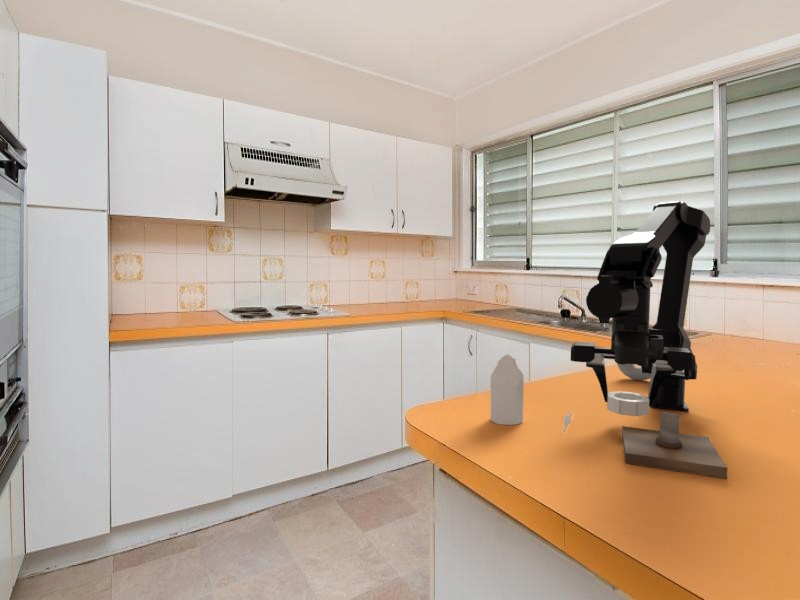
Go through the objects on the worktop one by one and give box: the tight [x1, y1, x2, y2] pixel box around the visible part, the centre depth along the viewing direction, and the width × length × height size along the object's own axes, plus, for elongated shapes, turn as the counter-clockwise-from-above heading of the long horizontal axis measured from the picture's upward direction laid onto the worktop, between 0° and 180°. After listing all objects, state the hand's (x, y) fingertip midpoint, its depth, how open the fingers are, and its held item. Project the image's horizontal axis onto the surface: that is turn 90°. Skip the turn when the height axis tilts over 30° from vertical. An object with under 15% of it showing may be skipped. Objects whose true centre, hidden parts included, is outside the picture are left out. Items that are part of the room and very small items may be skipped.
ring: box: [606, 390, 650, 417], centre depth 80 cm, size 6×6×2 cm
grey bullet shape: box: [489, 354, 525, 426], centre depth 83 cm, size 6×12×6 cm
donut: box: [616, 363, 651, 381], centre depth 113 cm, size 10×4×10 cm, turn 57°
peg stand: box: [621, 411, 728, 480], centre depth 68 cm, size 12×12×6 cm
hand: (627, 403), depth 80 cm, fingers closed on ring, 6 cm apart
